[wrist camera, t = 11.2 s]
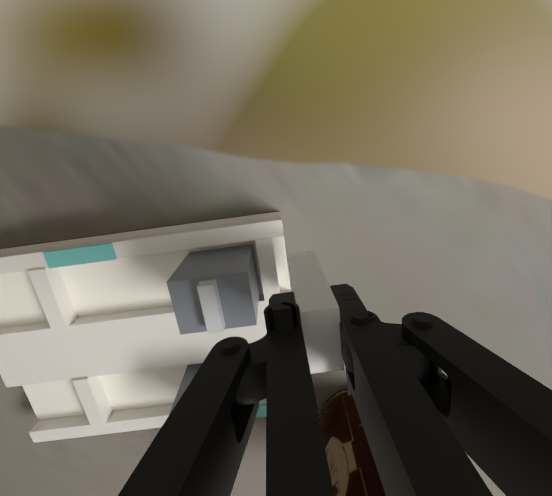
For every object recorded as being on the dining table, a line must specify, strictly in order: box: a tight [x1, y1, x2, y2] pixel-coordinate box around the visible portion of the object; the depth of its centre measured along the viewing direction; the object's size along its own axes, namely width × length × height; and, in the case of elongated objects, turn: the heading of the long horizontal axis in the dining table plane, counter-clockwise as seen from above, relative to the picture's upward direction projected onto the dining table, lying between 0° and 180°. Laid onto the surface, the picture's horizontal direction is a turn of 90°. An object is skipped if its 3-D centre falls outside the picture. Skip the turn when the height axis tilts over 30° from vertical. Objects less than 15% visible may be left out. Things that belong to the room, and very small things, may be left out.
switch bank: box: [0, 211, 291, 443], centre depth 21 cm, size 20×14×3 cm
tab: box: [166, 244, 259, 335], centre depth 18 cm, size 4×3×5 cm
